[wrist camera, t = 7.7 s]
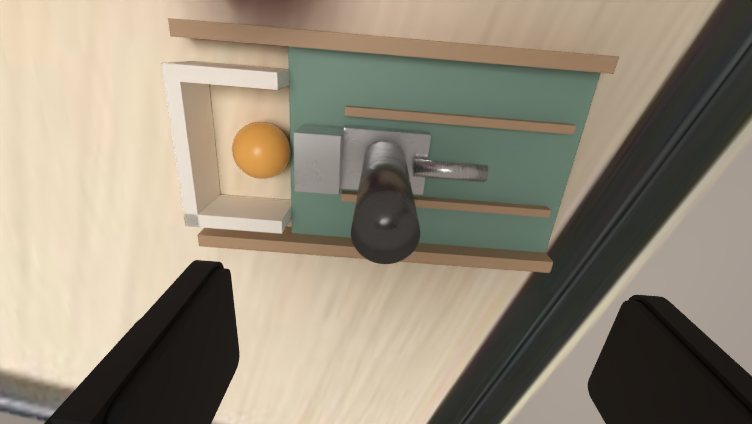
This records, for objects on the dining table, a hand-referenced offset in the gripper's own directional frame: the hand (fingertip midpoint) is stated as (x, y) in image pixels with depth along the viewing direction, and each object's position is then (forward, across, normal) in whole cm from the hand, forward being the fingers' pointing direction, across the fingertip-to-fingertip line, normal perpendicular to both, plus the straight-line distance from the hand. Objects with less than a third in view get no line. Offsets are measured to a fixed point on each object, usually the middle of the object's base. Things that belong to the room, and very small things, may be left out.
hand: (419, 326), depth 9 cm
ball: (+18, +10, +1) cm, 21 cm away
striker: (+19, +1, +1) cm, 19 cm away
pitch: (+20, +2, +1) cm, 21 cm away
